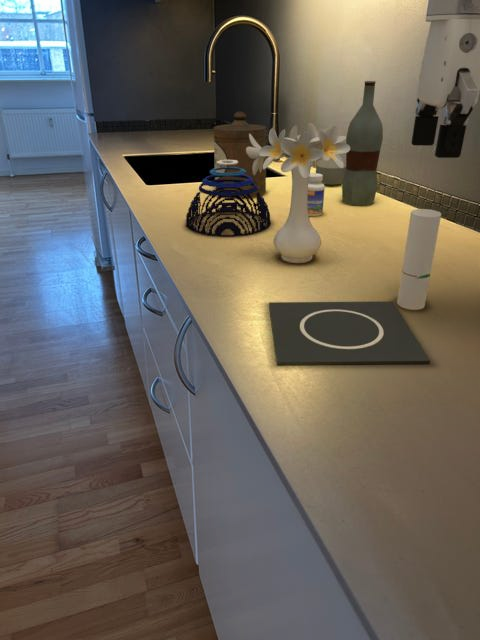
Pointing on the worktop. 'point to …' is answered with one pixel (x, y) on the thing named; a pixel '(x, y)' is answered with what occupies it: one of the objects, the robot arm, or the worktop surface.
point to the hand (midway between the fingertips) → (434, 150)
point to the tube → (418, 258)
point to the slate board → (342, 334)
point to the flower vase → (298, 183)
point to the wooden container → (239, 151)
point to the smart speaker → (332, 168)
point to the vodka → (363, 152)
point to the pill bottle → (315, 194)
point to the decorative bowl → (228, 204)
